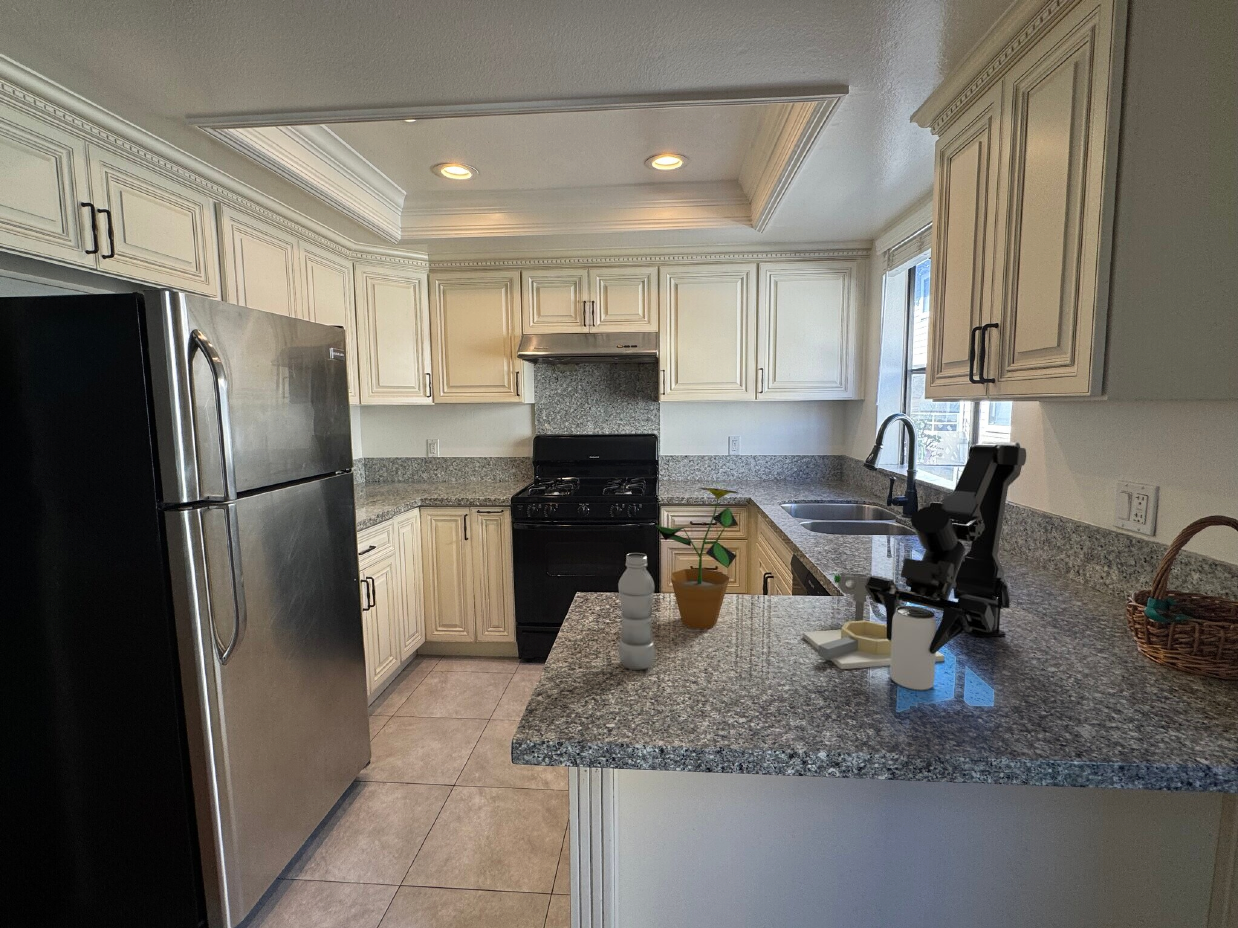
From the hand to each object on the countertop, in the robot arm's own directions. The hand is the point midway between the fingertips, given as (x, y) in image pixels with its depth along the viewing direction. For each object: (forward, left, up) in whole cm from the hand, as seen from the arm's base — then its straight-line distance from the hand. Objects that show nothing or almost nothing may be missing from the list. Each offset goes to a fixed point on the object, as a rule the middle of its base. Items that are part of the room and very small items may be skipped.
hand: (909, 645), depth 89 cm
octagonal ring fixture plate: (-2, -14, -7) cm, 15 cm away
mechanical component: (-8, -27, -7) cm, 29 cm away
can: (-1, -1, -7) cm, 7 cm away
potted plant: (+26, -32, -7) cm, 41 cm away
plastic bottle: (+43, -14, -7) cm, 45 cm away
